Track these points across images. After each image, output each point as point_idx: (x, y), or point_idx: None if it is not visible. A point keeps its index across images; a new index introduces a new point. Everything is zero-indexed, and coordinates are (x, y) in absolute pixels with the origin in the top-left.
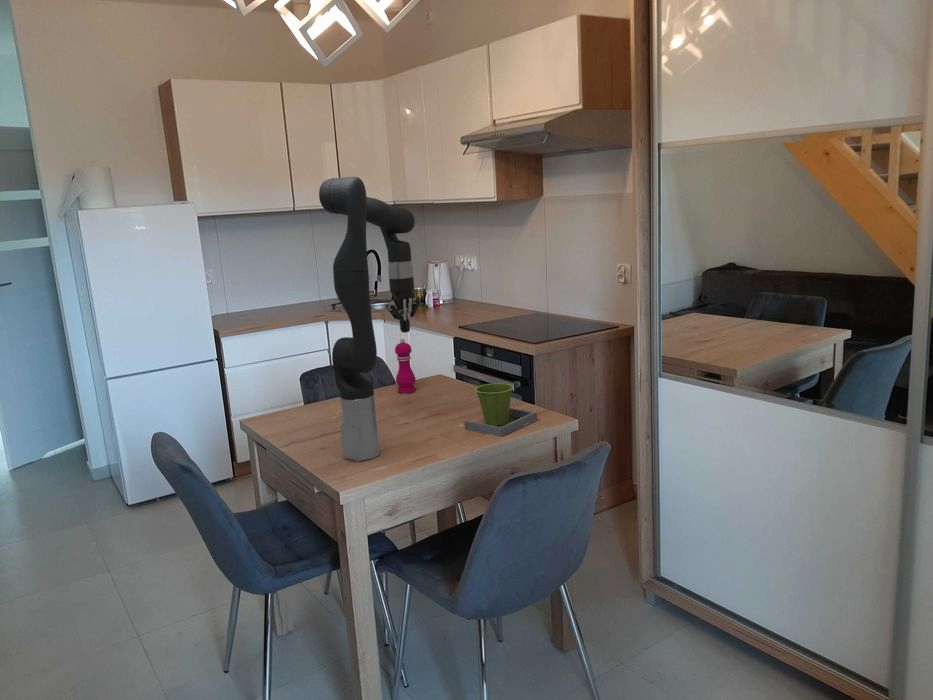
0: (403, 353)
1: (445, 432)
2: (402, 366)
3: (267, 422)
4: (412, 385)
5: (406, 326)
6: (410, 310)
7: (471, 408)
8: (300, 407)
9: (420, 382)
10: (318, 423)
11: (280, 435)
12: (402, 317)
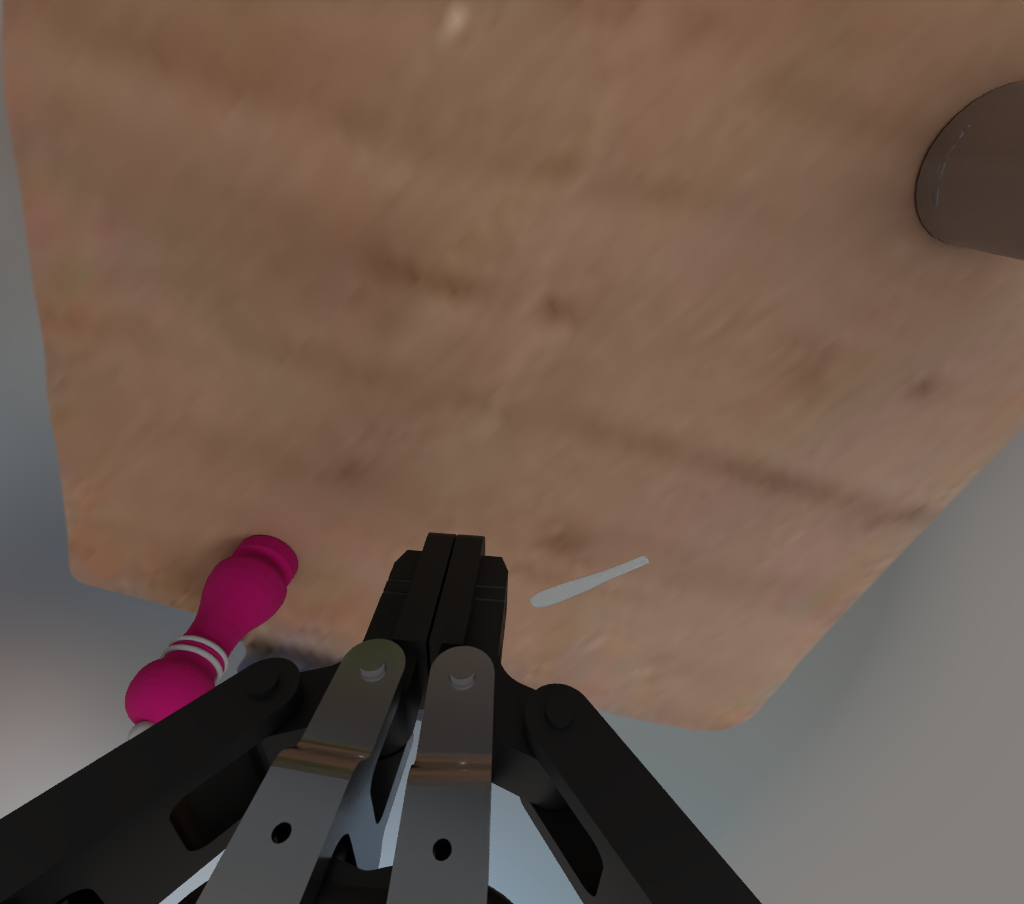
0: (195, 670)
1: (585, 17)
2: (232, 630)
3: (720, 688)
4: (244, 554)
5: (463, 580)
6: (295, 776)
7: (239, 177)
8: None
9: (167, 584)
10: (678, 575)
11: (821, 591)
12: (494, 716)
